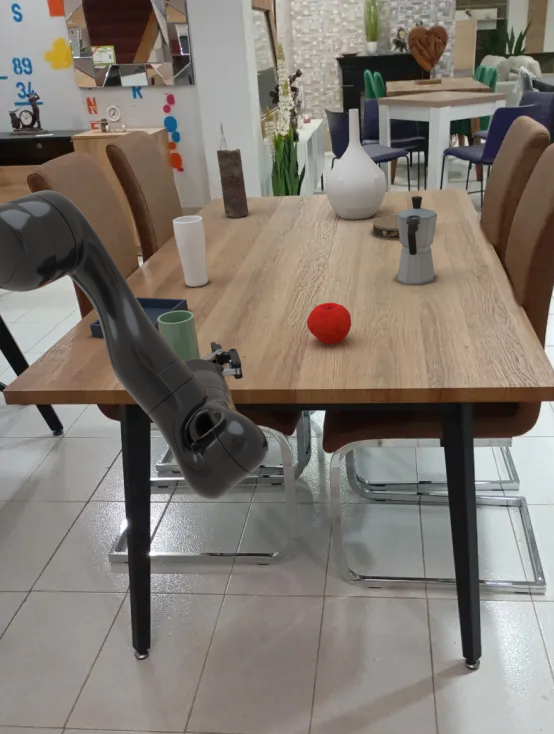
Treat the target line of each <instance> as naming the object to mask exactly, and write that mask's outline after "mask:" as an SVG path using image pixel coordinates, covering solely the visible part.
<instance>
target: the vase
mask: <svg viewBox="0 0 554 734" xmlns="http://www.w3.org/2000/svg"><path fill="white" fill-rule="evenodd" d="M348 134H349V135H348V138H349V142H348V146H347V147H346V150H345V152H343V154H342V156H341V157H340V158H339V159H338V161H337V163H336V164H335V165H334V166H333V167H332V169H331V170H330V171H329V172H328V173H327V175H326V178H325V182H324V183H325V184H324V187H325V194H326V197H327V200H328V203H329V205H330V207H331V208H332V210H333V211H334V212H335V213H336V214H337V215H338V216H339V217H340V218H341V219H345V220H354V221H355V220H364V219H368V218H371V217H372V216H374V215H375V214H376V212H378V210H380V209H379V208H380V207H381V205H382V203H383V201H384V197H385V195H386V192H387V179H386V174H385V172H384V171H383V170H382V169H381V167H379V165H378V164H377V163H375V161H374V160H373V159H372V158H371V157H370V155H368V153H367V152H366V150H365V149H364V148H363V146H362V145H361V140H360V116H359V108H350V109H348Z"/></svg>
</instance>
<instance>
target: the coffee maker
mask: <svg viewBox="0 0 554 734" xmlns="http://www.w3.org/2000/svg"><path fill="white" fill-rule="evenodd" d="M410 199H411V203H412V207H410V208H408V209H405V210H402V211H399V212H397V213H396V215H397V221H398V229H399V237H400V240H399V243H400V244H401V245H402V249H401V251H400V258H399V265H398V272H397V276H396V277H397V278H396V281H397V282H400V283H402V284H405V285H420V286H421V285H425V284H428V283H429V284H430V283H433V282H434V280H435V268H434V261H433V252H432V248H431V245H432V244H433V243H434V238H435V231H436V225H437V220H438V219H437V218H438V213H437V212H435V211H434V210H433V209H428V208H423V207H422V201H423V197H422V196H421V195H420V196H419V195H416V196H411V198H410Z"/></svg>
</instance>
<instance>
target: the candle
mask: <svg viewBox="0 0 554 734" xmlns="http://www.w3.org/2000/svg"><path fill="white" fill-rule="evenodd" d="M216 156H217V162H218V170H219V176H220V185H221V192H222V199H223V206H224V214H225V215H226V216H227V217H231V218H233V219H239V218H241V217H245V216H246V215H248V214H249V207H248V206H249V205H248V200H247V194H246V185H245V178H244V170H243V161H242V153H241V150H240V148H236V149H234V150H228V149H223V150H222V149H219V150H216Z"/></svg>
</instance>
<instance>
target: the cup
mask: <svg viewBox="0 0 554 734" xmlns="http://www.w3.org/2000/svg"><path fill="white" fill-rule="evenodd" d="M157 322H158V328H159V333H160V334H161V335H162V336H163V338H164V339H165V340H166V342H167V343H168V344H169V345H170V346H171V348H172V349H173V350H174V351H175V352H176V353H177V355H178V356H179V357H180V358H181V359H182V361H183V362H187V361H190V360H194V359H202V358H201V351H200V345H199V344H200V343H199V339H198V333H197V332H198V331H197V325H196V320H195V314H194V312H192V311H189V310H188V311H181V310H180V311H172V312H167V313H164V314H162V315H160V316H159V317H158V319H157Z"/></svg>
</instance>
